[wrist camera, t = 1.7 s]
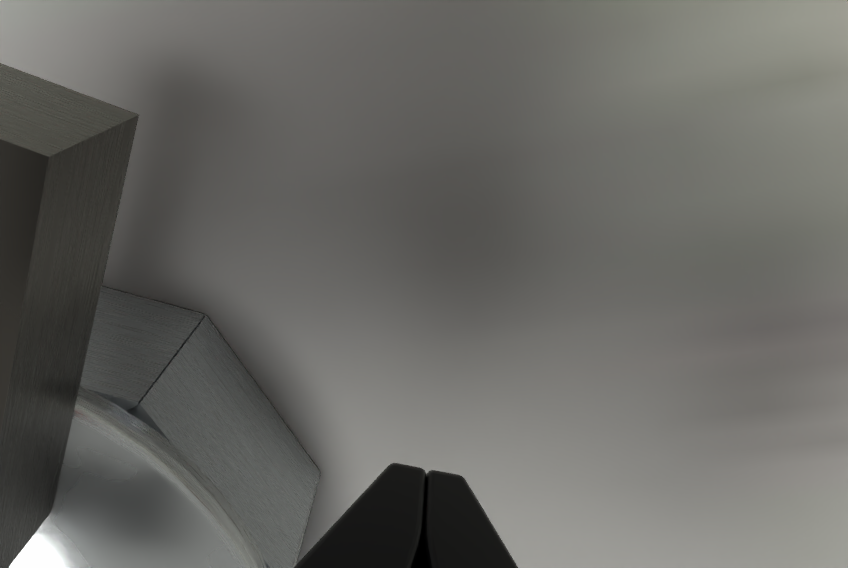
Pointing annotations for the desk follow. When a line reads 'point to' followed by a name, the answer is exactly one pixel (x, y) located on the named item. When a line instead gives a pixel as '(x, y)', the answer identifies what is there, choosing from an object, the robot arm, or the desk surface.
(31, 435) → the lid
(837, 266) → the desk surface
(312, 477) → the pot
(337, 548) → the robot arm
